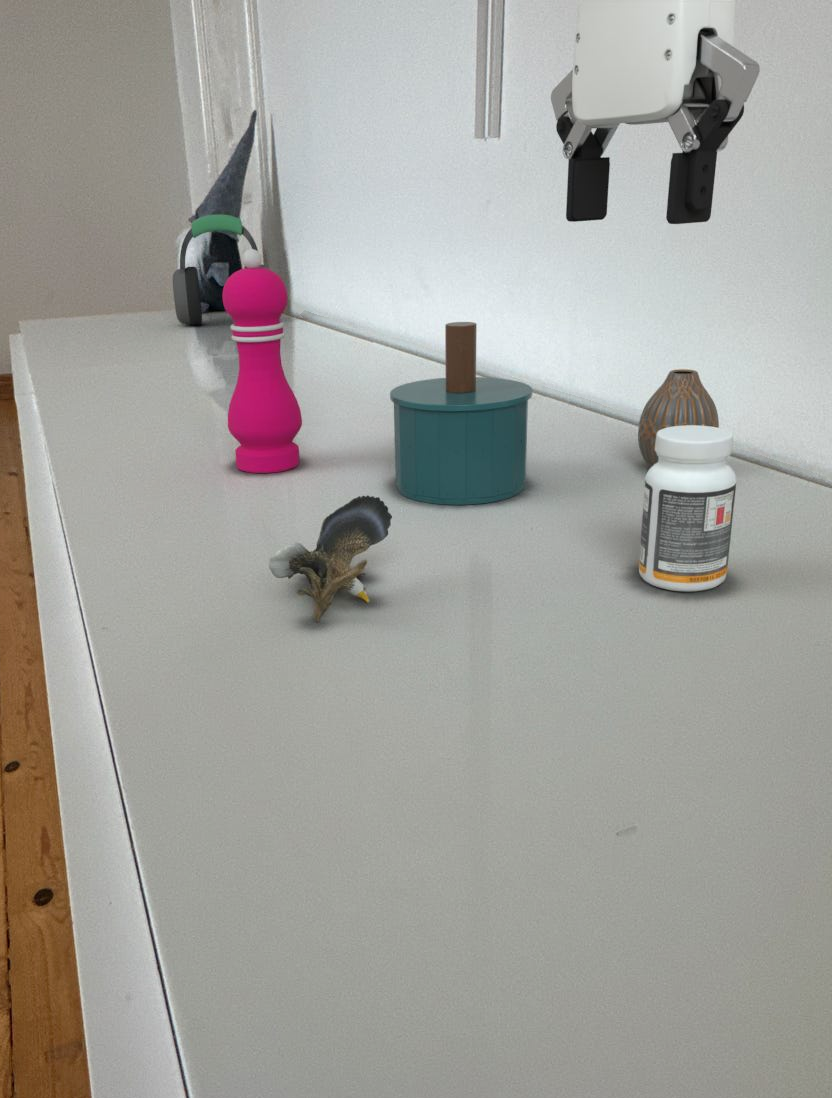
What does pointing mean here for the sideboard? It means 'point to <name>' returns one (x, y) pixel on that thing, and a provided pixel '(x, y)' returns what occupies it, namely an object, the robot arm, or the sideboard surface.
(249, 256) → the pepper mill
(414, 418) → the pot
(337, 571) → the eagle figurine
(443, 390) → the lid
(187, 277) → the headphones
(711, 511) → the pill bottle
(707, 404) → the vase
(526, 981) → the sideboard surface
